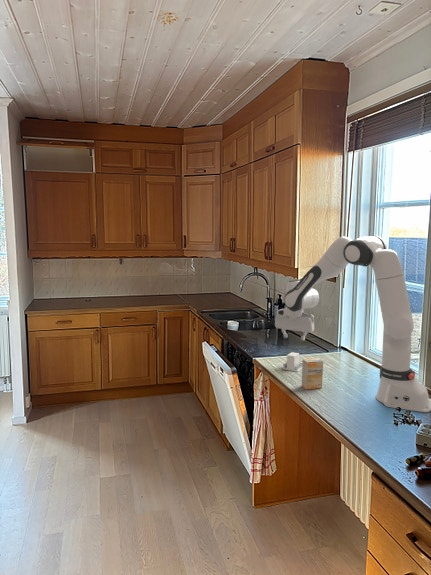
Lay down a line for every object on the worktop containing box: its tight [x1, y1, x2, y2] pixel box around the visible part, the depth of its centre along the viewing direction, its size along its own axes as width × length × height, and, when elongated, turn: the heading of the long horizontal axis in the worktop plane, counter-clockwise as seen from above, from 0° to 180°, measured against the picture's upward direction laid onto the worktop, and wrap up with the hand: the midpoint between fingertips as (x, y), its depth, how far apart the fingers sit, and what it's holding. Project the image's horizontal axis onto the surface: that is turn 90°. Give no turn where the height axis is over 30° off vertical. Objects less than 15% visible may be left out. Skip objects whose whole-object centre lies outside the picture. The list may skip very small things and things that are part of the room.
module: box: [286, 351, 300, 370], centre depth 229 cm, size 4×6×7 cm, turn 146°
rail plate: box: [282, 361, 302, 373], centre depth 229 cm, size 8×7×3 cm
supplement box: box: [301, 357, 324, 390], centre depth 203 cm, size 8×5×13 cm, turn 105°
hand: (294, 338), depth 227 cm, fingers open, 8 cm apart
